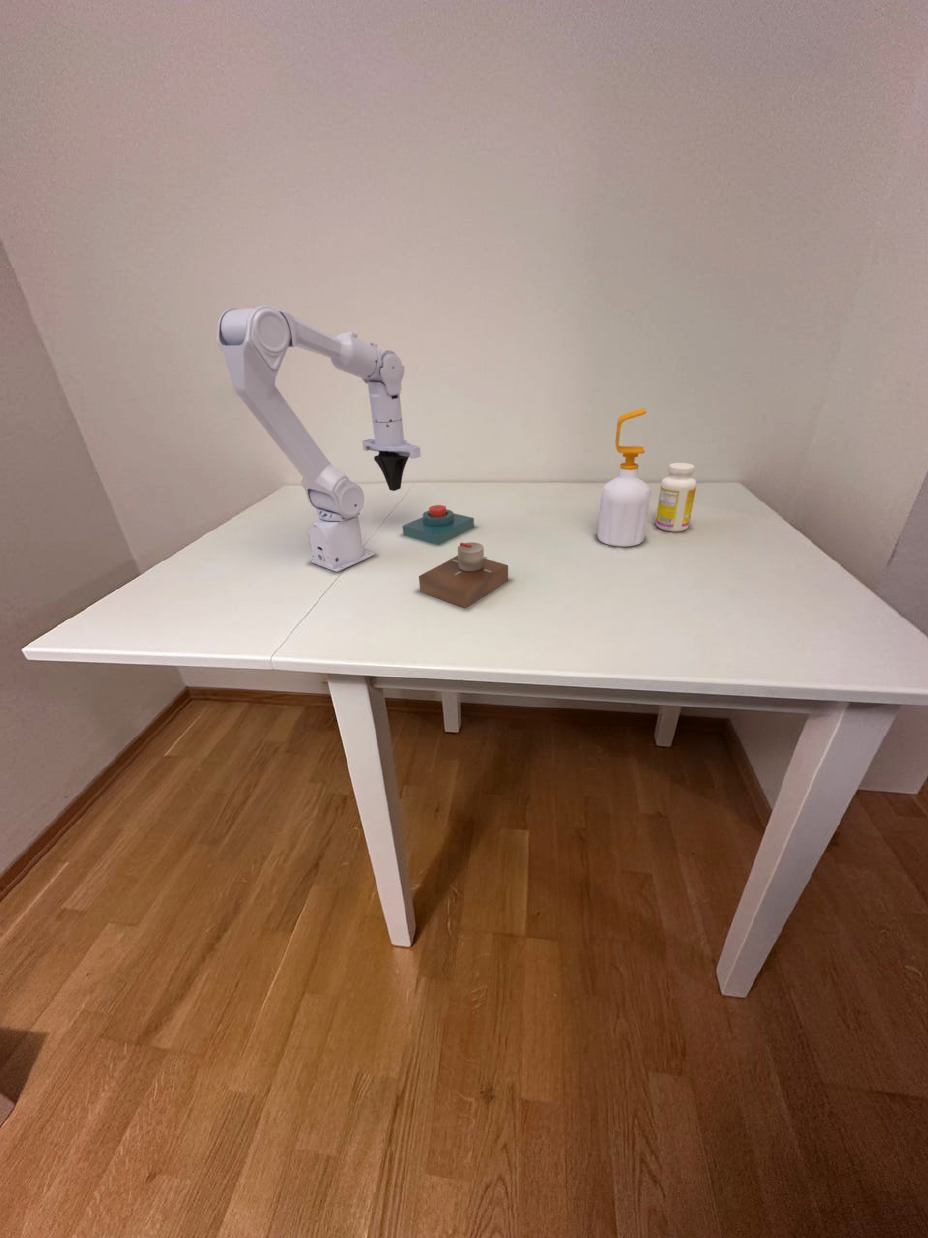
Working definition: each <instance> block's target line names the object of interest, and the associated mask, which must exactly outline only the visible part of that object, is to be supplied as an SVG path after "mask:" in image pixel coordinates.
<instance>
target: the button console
mask: <svg viewBox="0 0 928 1238" xmlns="http://www.w3.org/2000/svg"><path fill="white" fill-rule="evenodd" d="M474 528H475V518H474V517H471V516H467V515H463V514H460V513H459V514H458V513H454V511H452V510H451V509H448V508H446V515H445V516H443V517H431V516H430V513H429V509H428V510H426V511H424V512H423V513H422V516H421V517H419V518H417V519H415V520H413V521H410V522H408V523H406V524H403V525H402V532H403V536H405V537H409V538H412V539H415V540H419V541H423V542H426V543H429V544H431V545H432V544H433V545H436V546H439V545H441V544H443V543H445V542H448V541H450V540H452V539H453V538H456V537H457V536H460V535H461V534H463V533H466V532H468V531H470V530H472V529H474Z"/></svg>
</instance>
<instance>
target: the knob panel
mask: <svg viewBox="0 0 928 1238" xmlns="http://www.w3.org/2000/svg"><path fill="white" fill-rule="evenodd" d="M508 581H509V565H508V564H505V563H502V562H498V561H495V560H491V559H488V557H487V556H484V567H483V568H482V569H480V570H477V571H464V570H461V569H460V568H459V564H458V555H455V556H454V557H452V558H450V559H448V560H446V561H445V562H443V563H441V564H439V565H436V566H435V567H433V568H432V569H430V570H427V571H426V572H424V573H422V574H420V575H419V576H418V583H419V592H420V593H423V594H426V595H428V596H431V597H434V598H436V599H439V600H442V601H444V602H447V603H450V604H452V605H455V606H457V607H461V608H463V609H467V608H468V607H469V606H472V605H473V604H474V603H476V602H478V601H479V600H481V599H482V598H483V597H485V596H486V595H489V594H490V593H491V592H493V591H494V590H496V589H498V588H499V587H500V586H502V585H503V584H505V583H507V582H508Z"/></svg>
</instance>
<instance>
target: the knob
mask: <svg viewBox="0 0 928 1238" xmlns="http://www.w3.org/2000/svg"><path fill="white" fill-rule="evenodd" d="M484 548H485V547H484V545H483V544H482V543H479V542H459V545H458V546H457V556H458V564H459V568H460V569H461V570H464V571H477V570H480V569H482V568H483V567H484V557H485V549H484Z"/></svg>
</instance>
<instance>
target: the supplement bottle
mask: <svg viewBox="0 0 928 1238" xmlns="http://www.w3.org/2000/svg"><path fill="white" fill-rule="evenodd" d="M694 472H695V465H694V464H692V463H688V462H674V463H673V462H672V463H669V465H668V475H667V476H665V477H663V479H662V480H661V484H660V488H659V489H660V490H659V498H658V503H657V509H656V517H655V526H656V527H657V528H658V529H660V530H661V531H666V532H683V531H685V530H687V529H688V528H689V527H690V523H691V518H692V516H691V515H692V511H693V507H694V501H695V500H694V499H695V495H696V489H697V484H698V483H697V480H696V479H695V478H694V477H692V476H693V474H694Z"/></svg>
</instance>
